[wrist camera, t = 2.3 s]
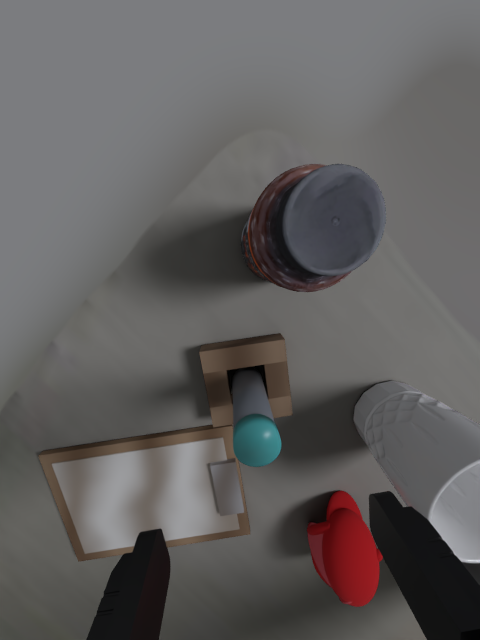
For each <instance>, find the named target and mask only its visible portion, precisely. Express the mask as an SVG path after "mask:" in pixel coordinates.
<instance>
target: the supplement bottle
mask: <svg viewBox="0 0 480 640" xmlns="http://www.w3.org/2000/svg"><path fill="white" fill-rule="evenodd" d="M385 223H386V208H385V202H384V198H383V196H382V192H381V191H380V189H379V187H378V185H377V184H376V182H375V181H374V180H373V179H372V178H370V176H369V175H367V174H366V173H365V172H364V171H362V170H361V169H359V168H357V167H352V166H350V165H344V164H335V165H334V164H332V165H321V164H309V165H303V166H299V167H296V168H292V169H290V170H288V171H286V172H284V173H283V174H281V175H280V176H278V177H276V178H275V179H274V180H273V181H272V182H271V183H270V184H269V185H268V186H267V187H266V188H265V190H264V191H263V192H262V194H261V195H260V197H259V198H258V200H257V202H256V204H255V206H254V208H253V210H252V212H251V214H250V216H249V218H248V220H247V222H246V224H245V226H244V229H243V232H242V238H241V248H242V254H243V257H244V260H245V262H246V264H247V266H248V267H249V268H250V270H251V271H252V272H253V273H255V274H256V275H257V276H259V277H260V278H262V279H264V280H267V281H269V282H271V283H274V284H276V285H277V286H280V287H283V288H286V289H289V290H293V291H297V292H313V291H318V290H322V289H325V288H328V287H330V286H332V285H334V284H336V283H338V282H340V281H341V280H342V279H344V278H345V277H346V276H347V275H348V274H350V273H351V271H352V270H355V269H356V268H357V267H359V266H360V265H362V264H363V263H364V262H366V261H367V260H368V259H369V257H370V256H371V255H372V254H373V253H374V251H375V250H376V248H377V247H378V245H379V242H380V240H381V238H382V235H383V232H384V227H385Z"/></svg>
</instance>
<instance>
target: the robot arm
mask: <svg viewBox="0 0 480 640" xmlns="http://www.w3.org/2000/svg"><path fill="white" fill-rule="evenodd" d="M369 515H370V528H371V532H372V535H373V538H374V540H375V543H376V545H377V547H378V549H379V551H380V552H381V554H382V556H383V558H384V560H385V562H386V564H387V565H388V567H389V569H390V571H391V573H392V575H393V577H394V579H395V580H396V582H397V584H398V586H399V588H400V590H401V592H402V594H403V595H404V597H405V599H406V601H407V603H408V605H409V607H410V609H411V610H412V612H413V614H414V616H415V618H416V620H417V622H418V624H419V625H420V627H421V629H422V631H423V633H424V635H425V637H426V639H427V640H480V563H465V562H461V561H460V560H459V558H458V557H457V556H455V555H454V553H453V551H452V550H451V548H450V547H449V546H448V544H447V543H446V542H445V541H444V540H443V539H442V537H441V536H440V534H439V533H438V532H437V530H436V529H435V528H434V527H433V525H432V524H431V523H430V522H429V520H428V519H427V518H425V517H424V516H423V515H422V514H420V513H419V512H418V511H417V510H415V509H414V508H413V507H412V506H409V507H403V506H402V505H401V504H400V502H399V501H398V500H397V498H396V497H395V496H394V494H393V493H392V492H390V491H387V492H381V493H375V494H370V495H369ZM169 579H170V557H169V553H168V549H167V546H166V542H165V538H164V535H163V531H162V529H154V530H148V531H142V532H140V533H139V535H138V537H137V539H136V543H135V546H134V549H133V552H131V553H125V554H123V556H122V557H121V559H120V560H119V562H118V563H117V565H116V566H115V568H114V569H113V571H112V572H111V575H110V578H109V580H108V583H107V586H106V589H105V591H104V596H103V598H102V599H101V602H100V605H99V607H98V610H97V615H96V617H95V618H94V621H93V624H92V626H91V629H90V632H89V634H88V637H87V640H159V635H160V629H161V623H162V618H163V612H164V607H165V601H166V596H167V590H168V585H169Z"/></svg>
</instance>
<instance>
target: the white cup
mask: <svg viewBox="0 0 480 640" xmlns="http://www.w3.org/2000/svg"><path fill="white" fill-rule="evenodd" d="M353 421H354V423H355V426H356V428H357V431H358V433H359V434H360V436H361V437H362V439H363V440H364V442H365V443H366V444H367V446H368V448H369V450H370V451H371V453H372V455H373V456H374V458H375V459H376V461H377V462H378V463H379V465H380V467H381V469H382V470H383V472H384V473H385V475H386V476H387V478H388V479H389V481H390V482H391V484H392V485H393V486H394V488H395V489H396V491H397V492H398V494H399V495H400V497H401V498H402V499H403V501H404V502H405V504H406V505H407V507H409V506H412V507H413V508H414V509H415V510H417V511H418V512H419V513H420V514H422V515H423V516H424V517H425V518H427V519H428V520H429V522H430V523H431V524H432V525H433V527H434V528H435V529H436V530H437V532H438V533H439V534H440V536H441V537H442V539H443V540H444V541H445V542H446V543H447V544H448V546H449V547H450V548H451V550H452V551H453V553H454V555H455V556H457V557H458V558H459V560H460V561H461V562H465V563H480V424H479V423H477V422H475V421H473V420H472V419H470V418H468V417H467V416H465V415H463V414H461V413H460V412H458V411H456V410H454V409H452V408H450V407H448V406H447V405H445V404H443V403H442V402H440V401H438V400H436V399H434V398H432V397H429V396H427V395H425V394H424V393H422V392H420V391H419V390H417V389H415V388H414V387H412V386H410V385H409V384H406V383H401V382H397V381H388V382H383V383H379V384H376V385H374V386H373V387H371V388H370V389H369V390H367V391H366V392H364V393H363V394H362V396H361V397H360V399H359V401H358V402H357V404H356V405H355V410H354V418H353Z"/></svg>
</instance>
